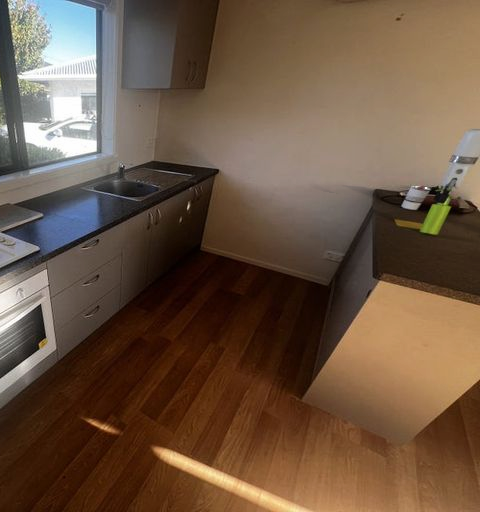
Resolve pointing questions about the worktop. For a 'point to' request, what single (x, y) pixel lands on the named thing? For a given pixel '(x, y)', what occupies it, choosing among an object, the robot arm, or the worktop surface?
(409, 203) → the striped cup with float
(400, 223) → the cloth
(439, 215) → the soap dispenser
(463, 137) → the robot arm
